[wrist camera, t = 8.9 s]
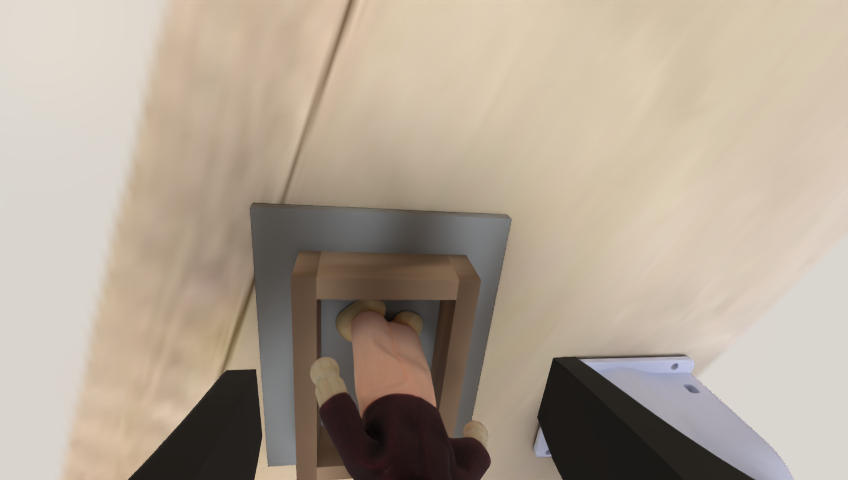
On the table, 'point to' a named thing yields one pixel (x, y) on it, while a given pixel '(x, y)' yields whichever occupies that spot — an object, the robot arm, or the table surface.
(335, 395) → the grandmother figurine
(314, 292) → the wooden tray
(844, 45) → the table surface
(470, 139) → the table surface
